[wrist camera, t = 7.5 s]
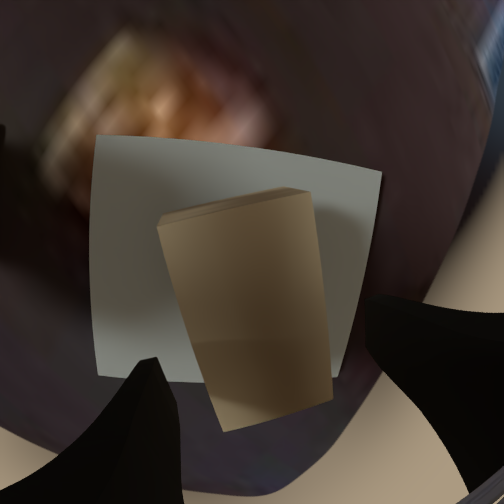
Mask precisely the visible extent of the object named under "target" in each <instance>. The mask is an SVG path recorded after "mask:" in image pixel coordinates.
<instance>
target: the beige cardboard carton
mask: <svg viewBox="0 0 504 504" xmlns="http://www.w3.org/2000/svg"><path fill="white" fill-rule="evenodd" d="M157 230H158V234H159V238H160V242H161V246H162V249H163V253H164V257H165V260H166V264H167V268H168V271H169V275H170V278H171V281H172V285H173V288H174V292H175V295H176V298H177V302H178V305H179V308H180V311H181V315H182V318H183V321H184V324H185V327H186V330H187V333H188V336H189V339H190V342H191V345H192V348H193V351H194V354H195V357H196V360H197V363H198V366H199V369H200V371H201V374H202V377H203V380H204V382H205V385H206V388H207V391H208V393H209V396H210V399H211V401H212V404H213V407H214V409H215V412H216V414H217V417H218V419H219V422H220V424H221V427H222V429H223V432H226V431H230V430H235V429H239V428H242V427H246V426H250V425H254V424H258V423H261V422H265V421H268V420H272V419H275V418H278V417H282V416H285V415H288V414H291V413H294V412H297V411H300V410H303V409H306V408H309V407H312V406H315V405H318V404H321V403H324V402H326V401H329V400H332V399H333V386H332V371H331V358H330V346H329V334H328V323H327V313H326V303H325V294H324V285H323V276H322V268H321V260H320V252H319V245H318V237H317V230H316V223H315V216H314V210H313V203H312V197H311V192H309V191H305V190H300V189H295V188H290V187H285V186H282V187H277V188H272V189H267V190H263V191H258V192H253V193H248V194H244V195H239V196H235V197H230V198H226V199H221V200H217V201H212V202H208V203H204V204H200V205H195V206H191V207H187V208H183V209H179V210H175V211H171V212H167V213H163V214H162V216H161V219H160V221H159V223H158V225H157Z"/></svg>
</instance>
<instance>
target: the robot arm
mask: <svg viewBox="0 0 504 504" xmlns="http://www.w3.org/2000/svg"><path fill="white" fill-rule="evenodd" d="M365 332H366V348H367V350H368V351H369V353H370V354H371V356H372V357H373V359H374V360H375V361H376V363H377V364H378V365H379V367H380V368H381V369H382V370H383V371H384V372H385V373H386V374H387V375H388V376H389V377H390V379H391V380H392V381H393V382H394V383H395V384H396V385H397V386H398V387H399V388H400V389H401V390H402V391H403V392H404V393H405V394H406V395H407V396H408V397H409V399H410V400H412V402H413V403H414V404H415V405H416V406H417V407H418V408H419V410H420V411H421V412H422V413H423V415H424V416H425V418H426V419H427V420H428V422H429V423H430V424H431V426H432V427H433V429H434V430H435V431H436V433H437V435H438V436H439V438H440V439H441V441H442V442H443V444H444V446H445V447H446V449H447V450H448V452H449V454H450V456H451V458H452V459H453V461H454V463H455V465H456V466H457V469H458V471H459V473H460V475H461V477H462V478H463V481H464V483H465V485H466V487H467V490H468V492H469V495H467V496H466V497H465V498H463V499H462V500H461V501H459V502H458V503H456V504H493V503H494V502H495V501H497V500H498V499H499V498H500V497H501V496H502V495H503V494H504V313H483V312H471V311H462V310H455V309H449V308H444V307H438V306H434V305H429V304H425V303H420V302H416V301H412V300H407V299H403V298H399V297H394V296H389V295H382V294H378V295H375V296H372V297H369V298H367V299H365ZM0 504H184V500H183V494H182V485H181V453H180V423H179V416H178V409H177V402H176V400H175V398H174V396H173V393H172V391H171V389H170V386H169V384H168V382H167V379H166V377H165V375H164V372H163V370H162V367H161V365H160V363H159V360H158V358H157V357H153V358H148V359H143V360H140V361H139V362H138V363H137V364H136V366H135V367H134V369H133V370H132V371H131V373H130V374H129V376H128V377H127V379H126V380H125V382H124V383H123V384H122V386H121V387H120V389H119V390H118V391H117V393H116V394H115V396H114V397H113V398H112V400H111V401H110V402H109V403H108V405H107V406H106V407H105V408H104V410H103V411H102V412H101V414H100V415H99V416H98V417H97V419H96V420H95V421H94V422H93V423H92V424H91V425H90V426H89V427H88V429H87V430H86V431H85V432H84V433H83V434H82V435H81V436H80V437H79V438H78V439H77V440H75V441H74V442H73V443H72V444H71V445H70V446H69V447H67V448H66V449H65V450H64V451H63V452H61V453H60V454H59V455H58V456H57V457H55V458H54V459H53V460H52V461H50V462H49V463H47V464H46V465H45V466H43V467H42V468H40V469H39V470H37V471H36V472H34V473H33V474H31V475H29V476H27V477H26V478H24V479H22V480H20V481H18V482H16V483H14V484H13V485H10V486H8V487H6V488H4V489H2V490H0ZM497 504H504V497H503V498H502V499H501V500H500V501H499V502H498V503H497Z"/></svg>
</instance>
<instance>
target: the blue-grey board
mask: <svg viewBox="0 0 504 504" xmlns="http://www.w3.org/2000/svg"><path fill="white" fill-rule="evenodd" d="M381 176H382V172H380V171H376V170H371V169H367V168H363V167H358V166H354V165H349V164H344V163H340V162H335V161H330V160H325V159H320V158H314V157H309V156H303V155H298V154H292V153H286V152H280V151H273V150H267V149H260V148H253V147H246V146H238V145H230V144H222V143H213V142H204V141H194V140H183V139H171V138H157V137H141V136H119V135H96V143H95V152H94V162H93V172H92V185H91V201H90V227H89V271H90V297H91V312H92V325H93V336H94V345H95V354H96V362H97V370H98V375H101V376H110V377H120V378H127V377H128V376H129V374H130V373H131V371H132V370H133V369H134V367H135V366H136V364H137V363H138V362H139V361H140V360H143V359H148V358H153V357H157V358H158V360H159V363H160V365H161V367H162V370H163V372H164V375H165V377H166V379H167V381H175V382H204V380H203V377H202V374H201V371H200V369H199V366H198V363H197V360H196V357H195V354H194V351H193V348H192V345H191V342H190V339H189V336H188V333H187V330H186V327H185V324H184V321H183V318H182V315H181V311H180V308H179V305H178V302H177V298H176V295H175V292H174V288H173V285H172V281H171V278H170V275H169V271H168V268H167V264H166V260H165V257H164V253H163V249H162V246H161V242H160V238H159V234H158V230H157V225H158V223H159V221H160V219H161V216H162V214H163V213H167V212H171V211H175V210H179V209H183V208H187V207H191V206H195V205H200V204H204V203H208V202H212V201H217V200H221V199H226V198H230V197H235V196H239V195H244V194H248V193H253V192H258V191H263V190H267V189H272V188H277V187H282V186H285V187H290V188H295V189H300V190H305V191H309V192H311V197H312V203H313V210H314V216H315V223H316V230H317V237H318V245H319V252H320V260H321V268H322V276H323V285H324V294H325V303H326V313H327V323H328V334H329V346H330V358H331V371H332V377H338V374H339V370H340V367H341V364H342V360H343V357H344V353H345V350H346V346H347V343H348V339H349V335H350V332H351V328H352V324H353V320H354V316H355V312H356V308H357V304H358V300H359V296H360V292H361V287H362V283H363V278H364V274H365V269H366V264H367V259H368V254H369V249H370V244H371V239H372V233H373V228H374V222H375V216H376V210H377V204H378V197H379V190H380V183H381Z"/></svg>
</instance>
